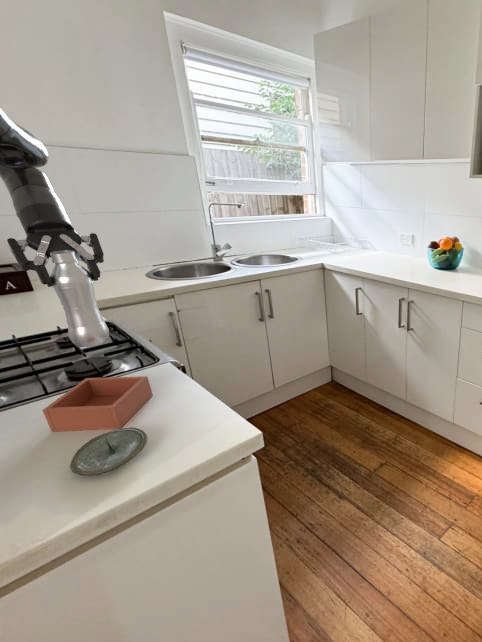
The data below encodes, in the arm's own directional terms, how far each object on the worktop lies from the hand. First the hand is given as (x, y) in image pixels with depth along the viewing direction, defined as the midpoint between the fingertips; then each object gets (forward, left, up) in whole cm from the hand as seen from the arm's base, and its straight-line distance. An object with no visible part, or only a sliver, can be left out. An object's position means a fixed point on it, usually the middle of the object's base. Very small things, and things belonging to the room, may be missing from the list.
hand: (73, 281), depth 76 cm
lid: (+16, -27, -23) cm, 39 cm away
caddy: (+7, -13, -23) cm, 27 cm away
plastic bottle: (-1, +1, -15) cm, 15 cm away
